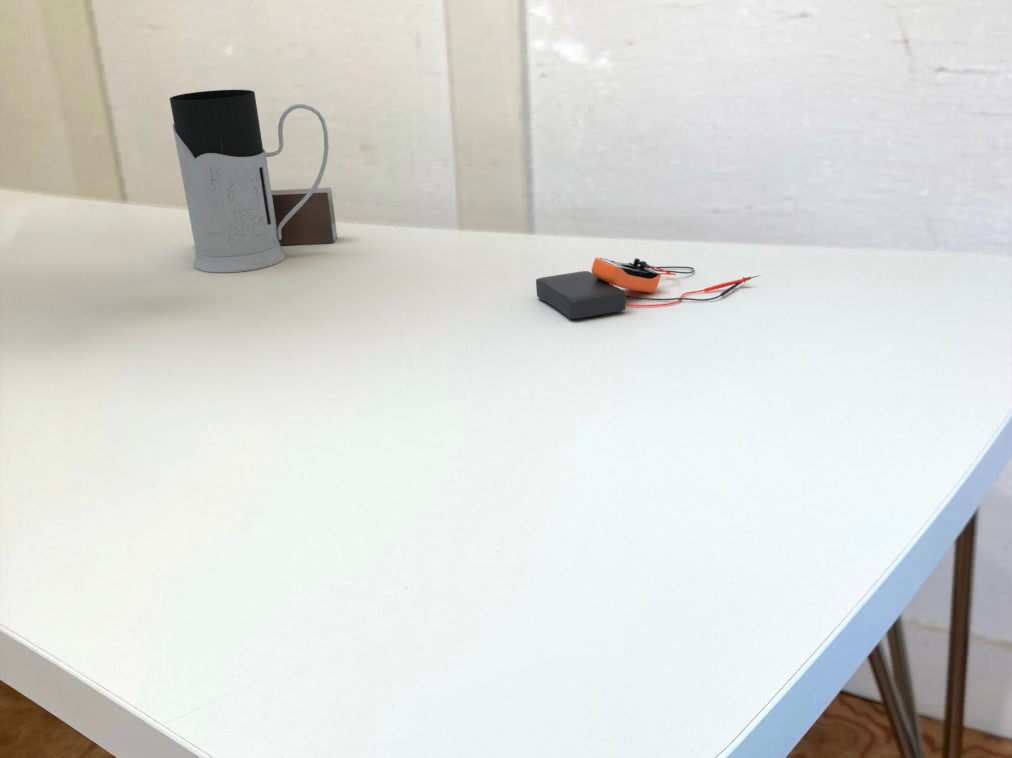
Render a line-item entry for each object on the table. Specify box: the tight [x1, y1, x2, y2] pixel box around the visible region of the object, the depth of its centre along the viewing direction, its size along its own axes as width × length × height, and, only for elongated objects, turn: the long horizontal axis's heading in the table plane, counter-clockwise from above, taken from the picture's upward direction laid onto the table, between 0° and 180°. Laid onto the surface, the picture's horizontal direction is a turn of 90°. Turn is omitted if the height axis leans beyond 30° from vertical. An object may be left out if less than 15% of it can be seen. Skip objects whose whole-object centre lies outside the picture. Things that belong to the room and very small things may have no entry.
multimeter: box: [535, 256, 762, 319], centre depth 87 cm, size 18×12×3 cm, turn 107°
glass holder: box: [169, 89, 329, 274], centre depth 99 cm, size 9×14×15 cm, turn 96°
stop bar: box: [271, 187, 338, 246], centre depth 107 cm, size 14×2×5 cm, turn 90°
